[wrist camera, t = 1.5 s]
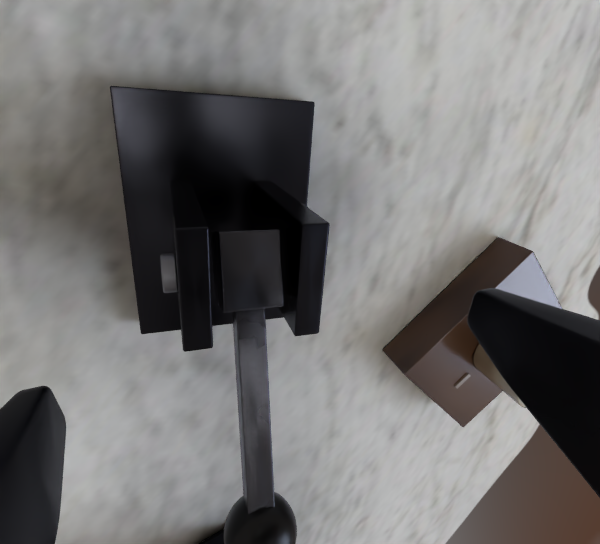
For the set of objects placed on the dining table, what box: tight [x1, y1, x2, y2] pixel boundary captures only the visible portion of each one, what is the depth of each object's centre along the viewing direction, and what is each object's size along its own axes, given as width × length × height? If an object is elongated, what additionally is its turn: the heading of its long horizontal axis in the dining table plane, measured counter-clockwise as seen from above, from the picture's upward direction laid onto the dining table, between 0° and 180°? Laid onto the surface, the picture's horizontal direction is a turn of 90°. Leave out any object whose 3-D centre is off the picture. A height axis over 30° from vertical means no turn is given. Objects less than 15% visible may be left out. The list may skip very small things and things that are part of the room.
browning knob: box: [473, 343, 526, 408], centre depth 26 cm, size 4×4×4 cm
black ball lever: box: [211, 229, 297, 544], centre depth 15 cm, size 14×3×3 cm, turn 176°
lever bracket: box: [110, 86, 329, 352], centre depth 16 cm, size 12×9×9 cm
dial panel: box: [383, 237, 562, 427], centre depth 29 cm, size 12×10×3 cm
